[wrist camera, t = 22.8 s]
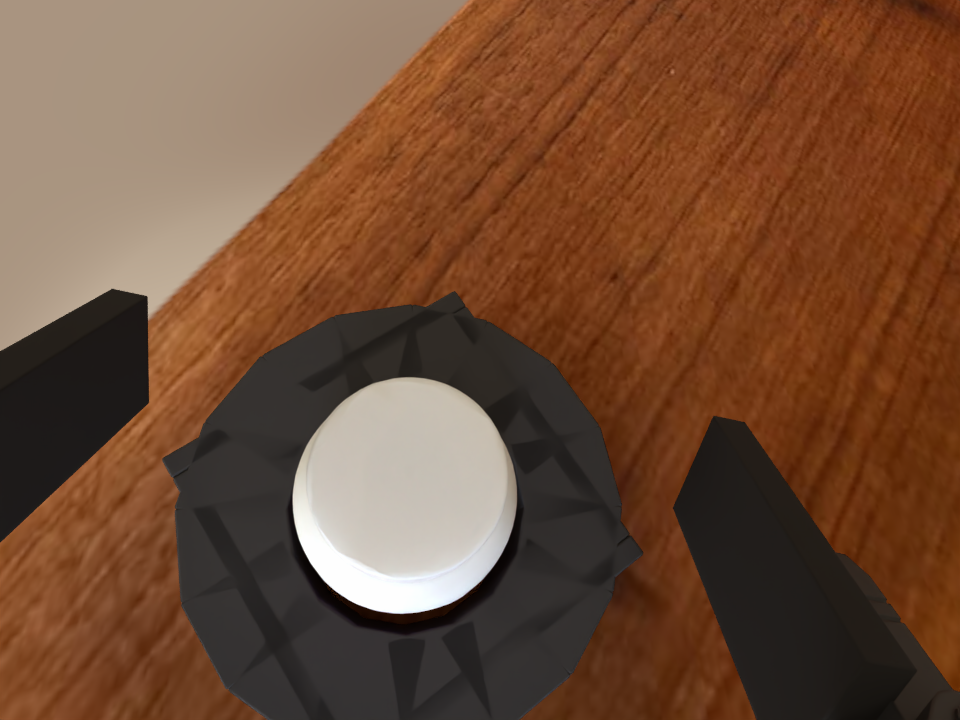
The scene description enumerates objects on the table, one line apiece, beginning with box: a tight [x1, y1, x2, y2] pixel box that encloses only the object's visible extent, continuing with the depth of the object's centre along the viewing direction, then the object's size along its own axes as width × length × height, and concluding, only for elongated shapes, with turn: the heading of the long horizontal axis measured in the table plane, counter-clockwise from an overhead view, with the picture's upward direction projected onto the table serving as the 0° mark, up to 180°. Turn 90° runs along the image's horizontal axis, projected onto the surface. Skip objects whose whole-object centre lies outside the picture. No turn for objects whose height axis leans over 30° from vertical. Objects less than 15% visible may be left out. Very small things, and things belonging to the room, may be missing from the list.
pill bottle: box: [293, 377, 517, 614], centre depth 16 cm, size 5×5×10 cm
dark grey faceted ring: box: [162, 291, 643, 720], centre depth 19 cm, size 12×12×4 cm
